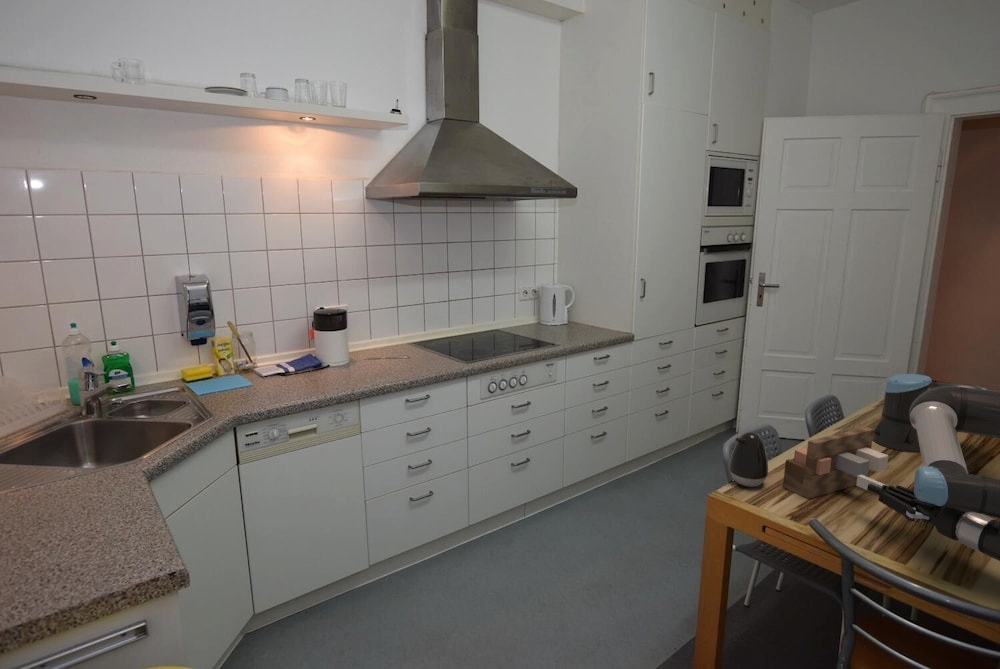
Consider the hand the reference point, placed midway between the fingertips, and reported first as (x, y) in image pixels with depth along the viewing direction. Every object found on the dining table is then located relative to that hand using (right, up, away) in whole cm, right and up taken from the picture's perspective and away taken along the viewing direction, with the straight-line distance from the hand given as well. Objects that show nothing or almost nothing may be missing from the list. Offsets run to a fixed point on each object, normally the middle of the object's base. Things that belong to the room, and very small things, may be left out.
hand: (858, 480), depth 143 cm
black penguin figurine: (-20, -6, +19) cm, 28 cm away
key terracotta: (-5, 0, +12) cm, 13 cm away
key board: (+2, -6, +18) cm, 19 cm away
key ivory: (+11, +1, +14) cm, 18 cm away
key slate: (+4, 0, +11) cm, 12 cm away
